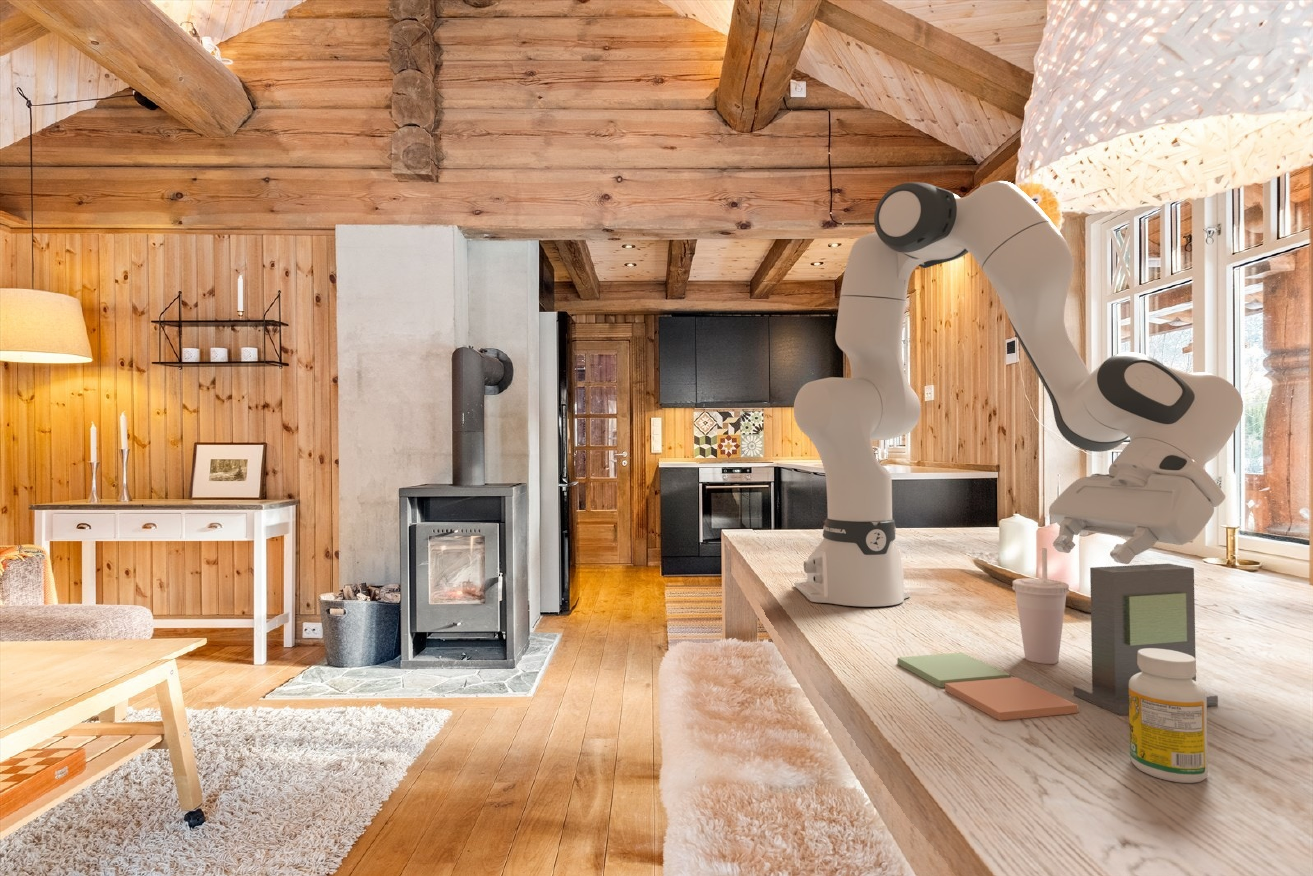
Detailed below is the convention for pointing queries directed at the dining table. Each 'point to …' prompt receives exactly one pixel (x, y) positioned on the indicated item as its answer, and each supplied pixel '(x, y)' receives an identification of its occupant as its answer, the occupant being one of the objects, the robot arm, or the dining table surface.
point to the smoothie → (1041, 615)
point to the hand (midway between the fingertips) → (1087, 554)
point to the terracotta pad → (1010, 698)
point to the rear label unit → (1136, 626)
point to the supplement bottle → (1168, 717)
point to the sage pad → (950, 668)
